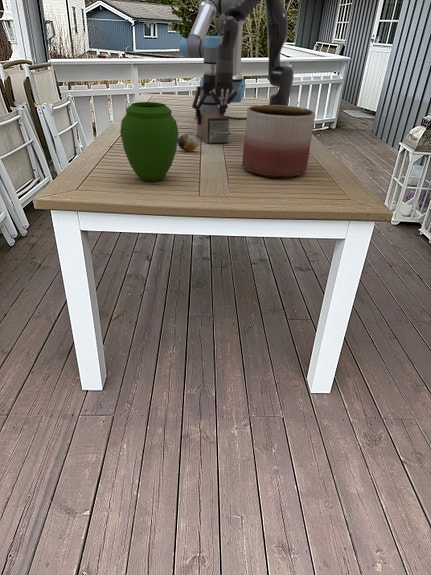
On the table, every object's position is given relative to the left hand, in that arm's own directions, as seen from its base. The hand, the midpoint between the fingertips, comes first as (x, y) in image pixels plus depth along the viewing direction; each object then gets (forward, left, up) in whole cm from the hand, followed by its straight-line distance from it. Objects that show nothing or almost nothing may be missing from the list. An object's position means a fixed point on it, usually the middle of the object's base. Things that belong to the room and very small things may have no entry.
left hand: (209, 123), depth 205 cm
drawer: (+1, +10, -5) cm, 11 cm away
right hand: (+1, +18, +8) cm, 20 cm away
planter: (-4, +60, -6) cm, 61 cm away
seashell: (+20, +25, -6) cm, 33 cm away
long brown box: (0, +5, -6) cm, 8 cm away
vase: (+45, +59, -6) cm, 75 cm away
